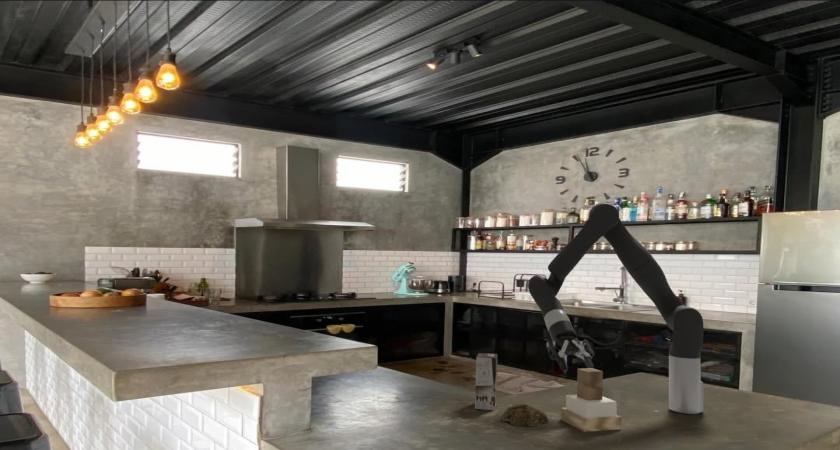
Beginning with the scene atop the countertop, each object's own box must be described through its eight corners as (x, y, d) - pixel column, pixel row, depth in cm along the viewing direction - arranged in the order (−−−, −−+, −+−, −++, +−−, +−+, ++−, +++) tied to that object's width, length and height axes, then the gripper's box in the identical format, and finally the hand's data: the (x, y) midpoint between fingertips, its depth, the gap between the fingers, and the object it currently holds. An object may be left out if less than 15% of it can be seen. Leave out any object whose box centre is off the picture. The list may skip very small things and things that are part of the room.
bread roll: (518, 413, 174) (518, 396, 174) (553, 422, 165) (553, 405, 166) (492, 420, 165) (492, 403, 166) (527, 430, 156) (528, 412, 157)
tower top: (595, 407, 170) (595, 393, 170) (616, 416, 160) (616, 401, 161) (565, 408, 167) (566, 395, 167) (586, 418, 157) (586, 403, 157)
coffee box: (495, 410, 175) (496, 357, 176) (474, 409, 176) (475, 356, 177) (497, 403, 184) (498, 353, 185) (477, 402, 185) (478, 352, 186)
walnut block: (591, 395, 167) (591, 368, 168) (602, 399, 163) (602, 371, 163) (577, 396, 165) (577, 368, 166) (588, 400, 161) (588, 372, 161)
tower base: (595, 419, 171) (596, 405, 171) (621, 431, 160) (621, 416, 160) (560, 421, 167) (561, 407, 168) (584, 433, 156) (584, 419, 156)
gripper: (543, 319, 177) (562, 363, 165) (583, 319, 181) (604, 362, 169) (535, 334, 182) (552, 377, 170) (574, 333, 186) (594, 376, 174)
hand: (578, 370), depth 170 cm, fingers open, 8 cm apart
